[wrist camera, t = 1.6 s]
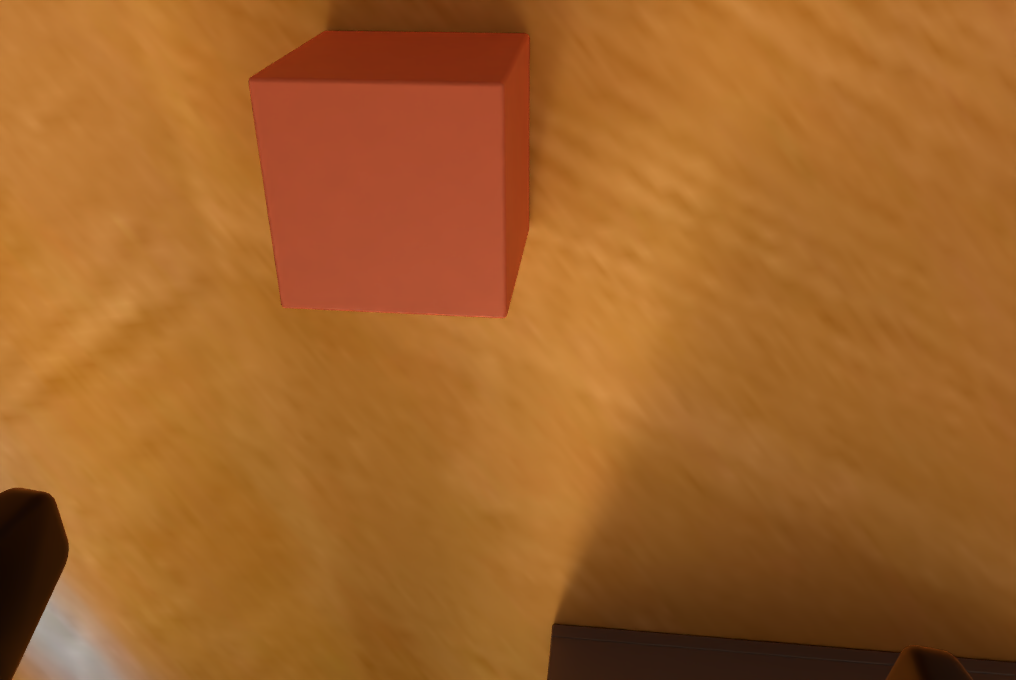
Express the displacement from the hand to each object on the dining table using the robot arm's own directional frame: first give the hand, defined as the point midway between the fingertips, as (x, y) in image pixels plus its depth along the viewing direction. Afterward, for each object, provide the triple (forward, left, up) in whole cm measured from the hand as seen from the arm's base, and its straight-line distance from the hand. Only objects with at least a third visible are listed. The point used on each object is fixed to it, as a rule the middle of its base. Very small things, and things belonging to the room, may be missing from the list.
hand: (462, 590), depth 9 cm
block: (-3, +1, -13) cm, 13 cm away
